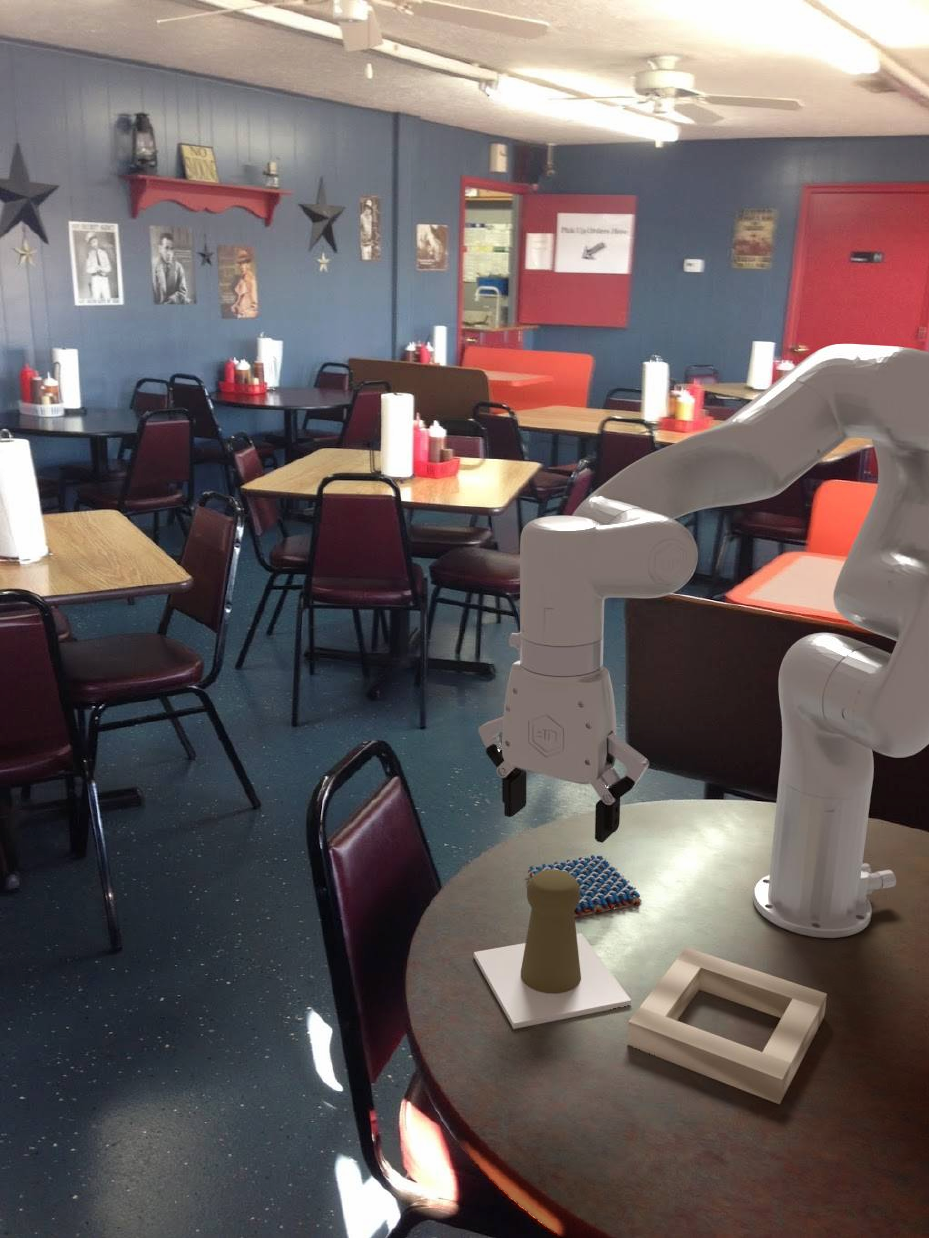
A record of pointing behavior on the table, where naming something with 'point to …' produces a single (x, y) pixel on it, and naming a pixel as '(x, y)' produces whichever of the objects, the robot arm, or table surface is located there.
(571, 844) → the table surface
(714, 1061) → the wooden holder
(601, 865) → the woven mat
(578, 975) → the cork
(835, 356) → the robot arm
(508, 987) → the ceramic tile
